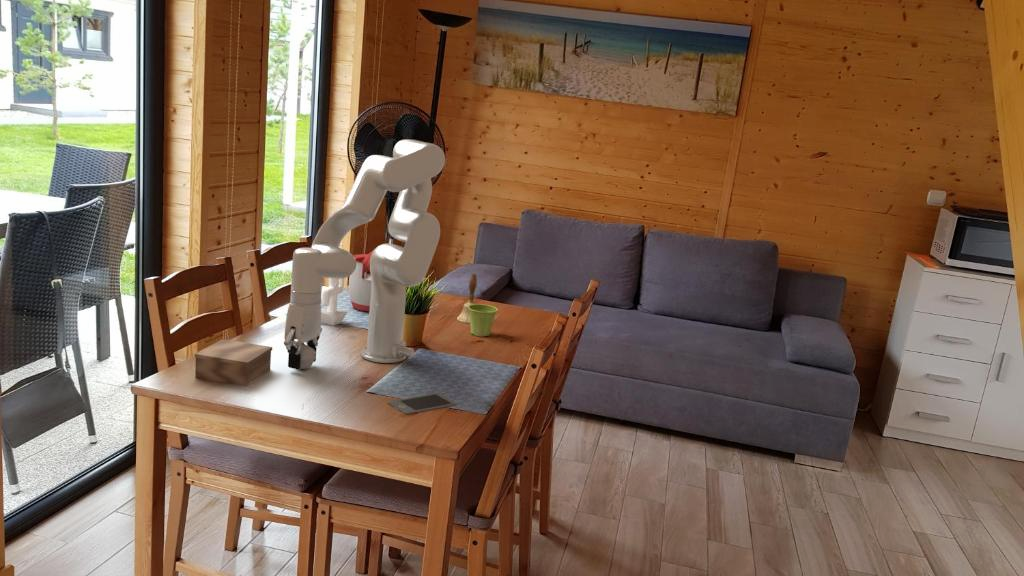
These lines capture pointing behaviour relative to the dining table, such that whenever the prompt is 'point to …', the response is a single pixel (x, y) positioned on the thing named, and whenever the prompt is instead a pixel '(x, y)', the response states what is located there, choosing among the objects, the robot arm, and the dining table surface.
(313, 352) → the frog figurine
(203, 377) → the walnut box
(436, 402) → the smartphone
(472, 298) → the hand bell
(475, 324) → the plant pot
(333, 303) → the figurine
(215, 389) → the dining table surface
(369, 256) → the citrus juicer
